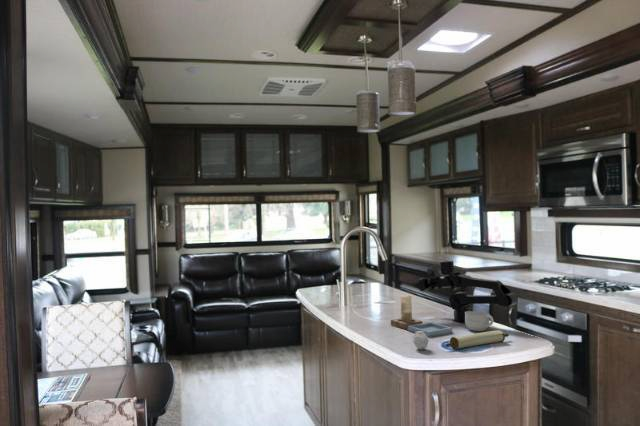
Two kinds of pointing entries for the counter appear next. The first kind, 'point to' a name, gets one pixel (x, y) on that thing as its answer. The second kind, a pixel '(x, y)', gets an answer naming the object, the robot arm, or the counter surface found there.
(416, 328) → the tray
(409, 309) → the dowel
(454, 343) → the rolling pin
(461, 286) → the robot arm
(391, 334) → the counter surface
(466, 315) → the teacup
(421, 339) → the grey round lump
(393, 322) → the socket block
